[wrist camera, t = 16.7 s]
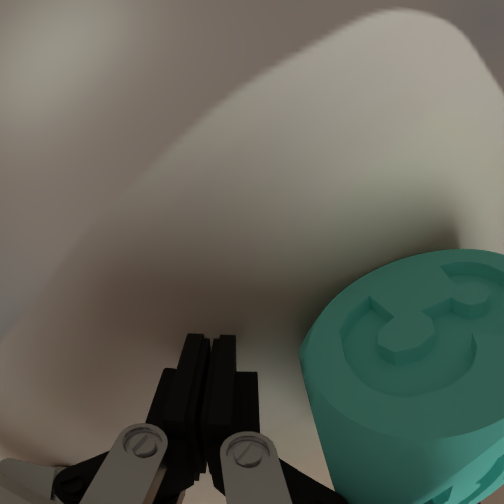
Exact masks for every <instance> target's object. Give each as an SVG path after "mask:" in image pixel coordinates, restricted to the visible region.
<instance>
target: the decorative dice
mask: <svg viewBox="0 0 504 504" xmlns="http://www.w3.org/2000/svg"><path fill="white" fill-rule="evenodd" d="M299 358H300V364H301V369H302V373H303V378H304V382H305V386H306V390H307V394H308V398H309V402H310V406H311V409H312V413H313V417H314V421H315V424H316V428H317V432H318V435H319V439H320V442H321V446H322V449H323V453H324V456H325V460H326V463H327V467H328V470H329V473H330V477H331V480H332V483H333V486H334V489H335V492H337V493H338V494H340V495H341V496H343V497H344V498H345V499H346V500H347V502H348V503H349V504H423V503H425V502H427V501H428V500H430V499H432V500H433V503H434V504H477V503H479V502H480V501H482V500H483V499H484V498H486V497H487V496H489V495H490V494H491V493H493V492H494V491H495V490H496V489H498V488H499V487H500V486H502V485H503V484H504V255H503V254H499V253H495V252H490V251H484V250H475V249H450V250H440V251H433V252H427V253H422V254H418V255H414V256H410V257H407V258H403V259H400V260H397V261H395V262H392V263H389V264H387V265H384V266H382V267H380V268H378V269H376V270H374V271H372V272H370V273H368V274H366V275H364V276H363V277H361V278H359V279H358V280H356V281H355V282H353V283H352V284H350V285H349V286H348V287H346V288H345V289H344V290H343V291H341V292H340V293H339V294H338V295H337V296H336V297H335V298H334V299H333V300H332V301H331V302H330V303H329V304H328V305H327V306H326V308H325V309H324V310H323V312H322V313H321V314H320V315H319V317H318V318H317V319H316V321H315V322H314V324H313V325H312V327H311V329H310V330H309V332H308V333H307V335H306V337H305V339H304V340H303V342H302V344H301V346H300V348H299Z"/></svg>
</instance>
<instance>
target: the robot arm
mask: <svg viewBox="0 0 504 504" xmlns="http://www.w3.org/2000/svg"><path fill="white" fill-rule="evenodd" d="M207 463H208V467H209V472H210V474H211V475H212V480H213V484H214V487H215V488H216V489H217V490H219V491H220V492H221V493H222V494H223V495H224V496H226V502H227V504H349V503H348V502H347V500H346V499H345V498H344V497H343V496H341V495H340V494H338V493H337V492H335V491H333V490H331V489H329V488H327V487H326V486H324V485H322V484H320V483H319V482H317V481H315V480H313V479H312V478H310V477H308V476H307V475H305V474H303V473H302V472H300V471H298V470H297V469H295V468H294V467H292V466H290V465H289V464H287V463H286V462H284V461H283V460H281V459H280V458H278V454H277V451H276V448H275V446H274V444H273V442H272V441H271V440H270V439H269V438H268V437H266V436H264V435H262V434H260V422H259V397H258V374H257V372H237V370H236V335H220V337H219V339H214V340H213V345H212V351H211V347H210V339H209V338H204V334H190V333H188V334H187V337H186V340H185V343H184V347H183V350H182V353H181V356H180V360H179V363H178V366H177V369H174V368H165V369H164V370H163V373H162V375H161V378H160V381H159V384H158V387H157V390H156V393H155V396H154V399H153V401H152V404H151V407H150V410H149V413H148V416H147V419H146V422H145V423H141V424H135V425H132V426H129V427H127V428H126V429H124V430H123V431H122V432H121V434H120V435H119V436H118V438H117V440H116V441H115V443H114V445H113V447H112V448H111V450H110V451H107V452H105V453H103V454H100V455H98V456H96V457H93V458H91V459H88V460H86V461H83V462H81V463H78V464H76V465H73V466H70V467H59V466H56V467H48V466H43V465H38V464H33V463H28V462H24V461H20V460H16V459H10V458H6V459H4V460H1V461H0V504H182V502H183V499H184V496H185V491H186V489H187V488H189V487H191V486H192V485H194V481H199V476H200V473H206V467H207ZM423 504H434V503H433V500H432V499H430V500H428V501H427V502H425V503H423Z"/></svg>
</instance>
